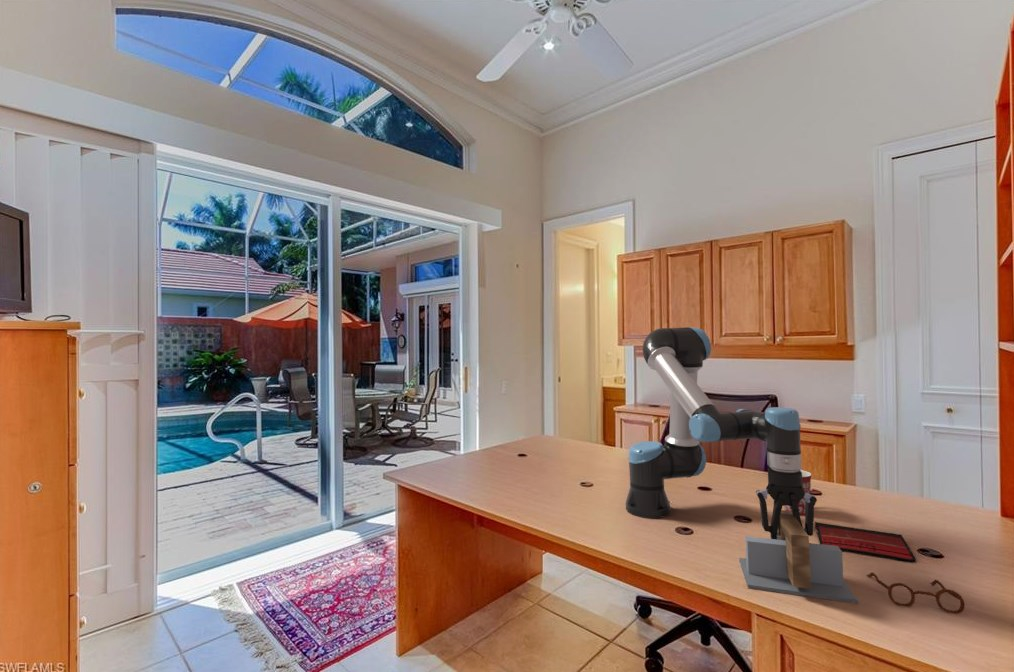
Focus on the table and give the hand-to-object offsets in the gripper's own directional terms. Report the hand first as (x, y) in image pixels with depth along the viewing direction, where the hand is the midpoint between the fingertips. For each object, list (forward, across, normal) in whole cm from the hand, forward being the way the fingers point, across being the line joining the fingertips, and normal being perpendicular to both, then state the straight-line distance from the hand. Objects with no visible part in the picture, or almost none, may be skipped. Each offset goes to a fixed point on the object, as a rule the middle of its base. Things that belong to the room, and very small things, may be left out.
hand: (788, 559), depth 115 cm
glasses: (+4, +24, -3) cm, 25 cm away
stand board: (+3, 0, -4) cm, 5 cm away
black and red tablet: (+4, +23, +23) cm, 33 cm away
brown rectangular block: (+1, 0, -5) cm, 5 cm away
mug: (+3, +13, +47) cm, 49 cm away
